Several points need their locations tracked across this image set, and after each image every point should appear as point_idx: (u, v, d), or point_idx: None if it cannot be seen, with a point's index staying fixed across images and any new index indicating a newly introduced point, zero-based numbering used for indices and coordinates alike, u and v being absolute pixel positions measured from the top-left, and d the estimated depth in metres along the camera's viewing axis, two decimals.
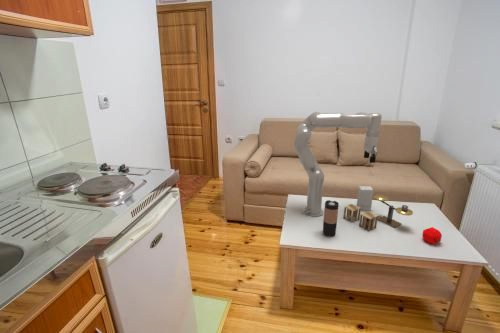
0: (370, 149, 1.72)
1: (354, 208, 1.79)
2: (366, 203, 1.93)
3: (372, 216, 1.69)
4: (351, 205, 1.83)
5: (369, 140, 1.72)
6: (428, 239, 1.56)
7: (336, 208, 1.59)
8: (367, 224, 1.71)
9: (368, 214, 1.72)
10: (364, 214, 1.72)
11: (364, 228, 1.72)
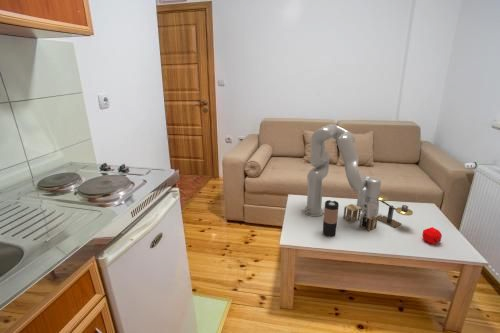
0: None
1: (354, 208, 1.79)
2: None
3: None
4: (351, 205, 1.83)
5: (377, 203, 1.68)
6: (428, 239, 1.56)
7: (336, 208, 1.59)
8: (367, 224, 1.71)
9: None
10: None
11: (364, 228, 1.72)
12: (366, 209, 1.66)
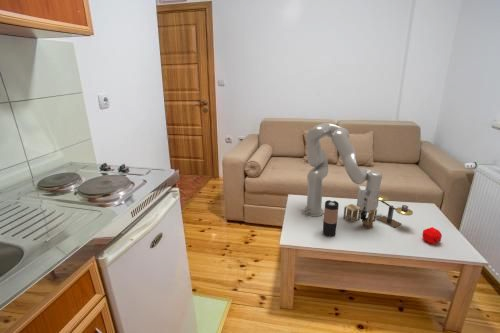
0: None
1: (354, 208, 1.79)
2: None
3: None
4: (351, 205, 1.83)
5: (377, 197, 1.67)
6: (428, 239, 1.56)
7: (336, 208, 1.59)
8: None
9: None
10: None
11: (363, 221, 1.71)
12: (366, 202, 1.65)
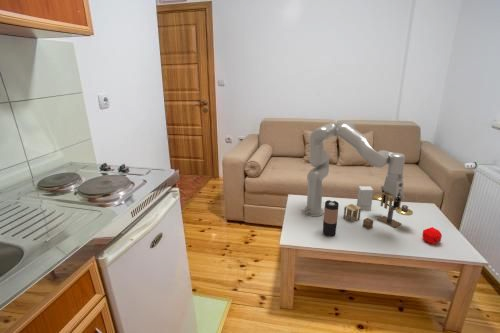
0: None
1: (354, 208, 1.79)
2: (366, 203, 1.93)
3: None
4: (351, 205, 1.83)
5: None
6: (428, 239, 1.56)
7: (336, 208, 1.59)
8: (367, 224, 1.71)
9: None
10: (391, 195, 1.57)
11: (395, 209, 1.59)
12: (401, 187, 1.53)
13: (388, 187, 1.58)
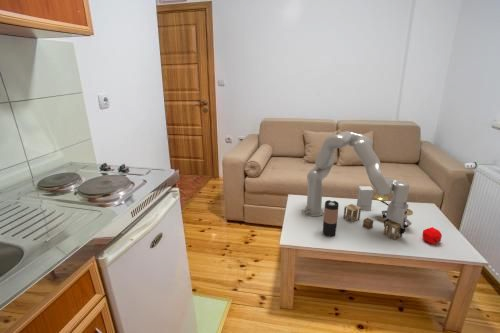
0: None
1: (354, 208, 1.79)
2: (366, 203, 1.93)
3: None
4: (351, 205, 1.83)
5: None
6: (428, 239, 1.56)
7: (336, 208, 1.59)
8: (367, 224, 1.71)
9: (394, 222, 1.62)
10: (396, 225, 1.60)
11: (398, 237, 1.62)
12: (406, 215, 1.56)
13: (392, 214, 1.60)
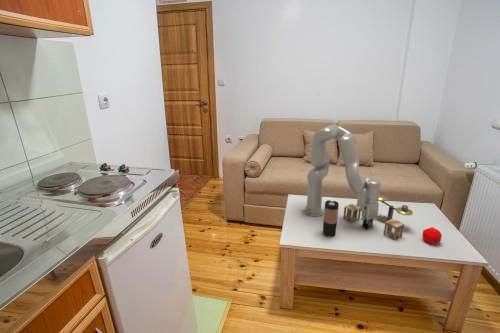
0: None
1: (354, 208, 1.79)
2: None
3: (397, 221, 1.63)
4: (351, 205, 1.83)
5: (377, 205, 1.69)
6: (428, 239, 1.56)
7: (336, 208, 1.59)
8: None
9: (394, 222, 1.62)
10: (396, 225, 1.60)
11: (398, 237, 1.62)
12: (366, 211, 1.67)
13: None
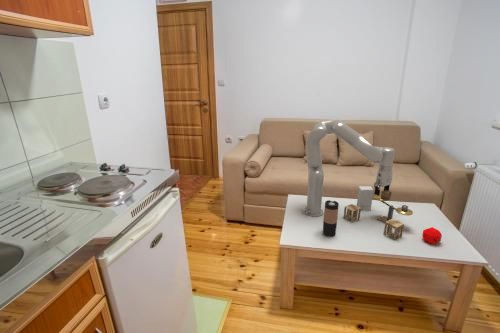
0: None
1: (354, 208, 1.79)
2: (366, 203, 1.93)
3: (397, 221, 1.63)
4: (351, 205, 1.83)
5: (391, 173, 1.75)
6: (428, 239, 1.56)
7: (336, 208, 1.59)
8: (385, 195, 1.75)
9: (394, 222, 1.62)
10: (396, 225, 1.60)
11: (398, 237, 1.62)
12: (380, 178, 1.73)
13: None
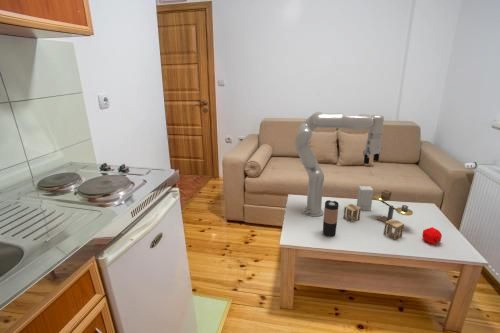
0: None
1: (354, 208, 1.79)
2: (366, 203, 1.93)
3: (397, 221, 1.63)
4: (351, 205, 1.83)
5: (380, 141, 1.74)
6: (428, 239, 1.56)
7: (336, 208, 1.59)
8: (385, 195, 1.75)
9: (394, 222, 1.62)
10: (396, 225, 1.60)
11: (398, 237, 1.62)
12: (369, 145, 1.71)
13: None
